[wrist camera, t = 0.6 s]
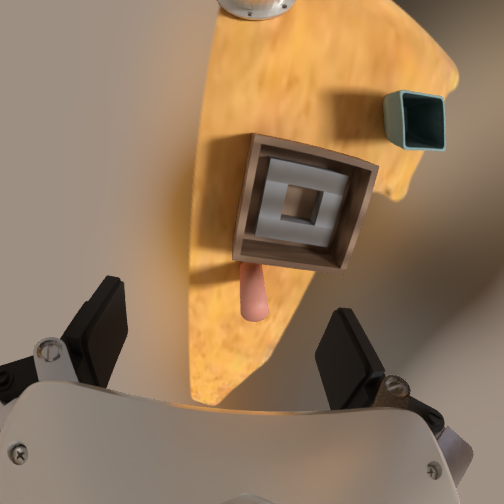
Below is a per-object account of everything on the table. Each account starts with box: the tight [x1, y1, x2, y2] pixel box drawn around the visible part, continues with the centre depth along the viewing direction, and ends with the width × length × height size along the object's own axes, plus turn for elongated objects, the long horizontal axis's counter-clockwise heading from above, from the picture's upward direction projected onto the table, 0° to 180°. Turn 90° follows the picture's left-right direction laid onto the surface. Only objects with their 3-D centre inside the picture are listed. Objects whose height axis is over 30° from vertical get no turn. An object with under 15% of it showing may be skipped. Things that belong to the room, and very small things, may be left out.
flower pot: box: [383, 90, 446, 152], centre depth 33 cm, size 9×9×9 cm
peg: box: [239, 262, 269, 322], centre depth 43 cm, size 4×4×12 cm
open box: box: [232, 133, 379, 275], centre depth 40 cm, size 18×18×7 cm
